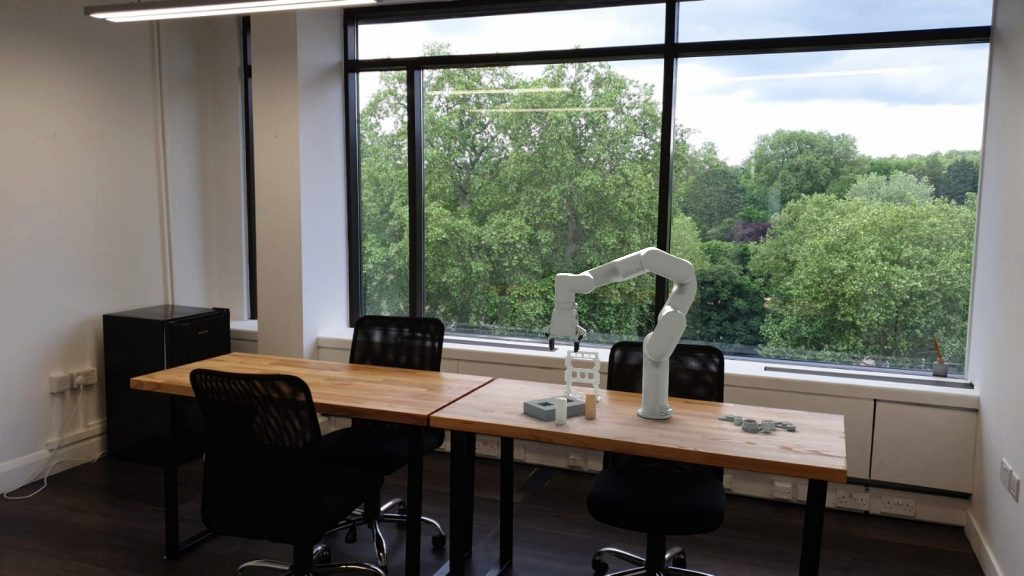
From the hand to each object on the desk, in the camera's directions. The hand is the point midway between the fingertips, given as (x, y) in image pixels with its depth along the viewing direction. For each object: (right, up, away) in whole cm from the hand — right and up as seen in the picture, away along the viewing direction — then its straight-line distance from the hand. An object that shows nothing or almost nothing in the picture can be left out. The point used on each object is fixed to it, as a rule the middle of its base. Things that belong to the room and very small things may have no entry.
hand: (564, 350), depth 271 cm
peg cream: (-2, -25, -14) cm, 29 cm away
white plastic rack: (+8, -22, +20) cm, 31 cm away
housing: (-3, -23, 0) cm, 24 cm away
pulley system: (+67, -27, -15) cm, 73 cm away
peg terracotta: (+9, -24, -6) cm, 27 cm away
